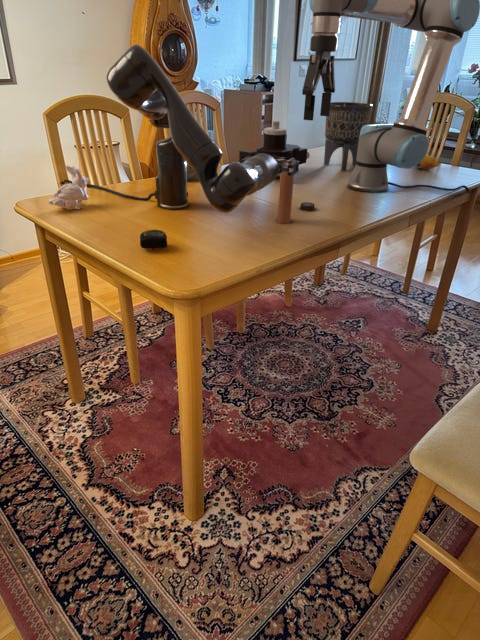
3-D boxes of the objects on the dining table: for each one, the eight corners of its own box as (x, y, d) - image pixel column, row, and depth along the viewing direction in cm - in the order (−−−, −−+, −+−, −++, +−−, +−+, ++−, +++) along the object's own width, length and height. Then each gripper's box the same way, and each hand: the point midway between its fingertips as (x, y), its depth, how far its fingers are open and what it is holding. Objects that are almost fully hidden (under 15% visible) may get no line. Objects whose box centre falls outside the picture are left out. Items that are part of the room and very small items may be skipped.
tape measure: (140, 252, 115) (139, 238, 113) (141, 242, 120) (140, 229, 119) (167, 251, 116) (166, 237, 114) (167, 241, 121) (166, 228, 120)
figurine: (98, 204, 150) (92, 164, 144) (60, 215, 140) (52, 173, 133) (82, 200, 154) (76, 161, 148) (43, 210, 143) (35, 169, 137)
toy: (413, 162, 205) (407, 155, 217) (415, 176, 208) (410, 168, 220) (439, 154, 201) (432, 147, 214) (441, 168, 204) (434, 161, 217)
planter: (313, 167, 208) (319, 103, 195) (331, 160, 222) (338, 101, 209) (353, 173, 199) (362, 107, 185) (369, 166, 213) (379, 104, 199)
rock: (201, 174, 190) (201, 158, 187) (214, 178, 185) (214, 162, 181) (174, 179, 183) (173, 162, 179) (187, 183, 177) (186, 166, 174)
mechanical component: (240, 120, 182) (283, 115, 202) (239, 174, 192) (280, 164, 212) (283, 126, 170) (325, 120, 190) (280, 183, 180) (320, 171, 200)
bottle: (290, 219, 141) (295, 163, 132) (289, 223, 137) (294, 166, 129) (278, 218, 141) (281, 162, 133) (276, 222, 138) (280, 165, 130)
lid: (307, 206, 154) (307, 201, 153) (317, 209, 151) (317, 204, 150) (297, 208, 151) (297, 203, 151) (307, 211, 148) (307, 206, 147)
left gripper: (287, 158, 104) (305, 148, 117) (230, 153, 109) (253, 143, 122) (284, 191, 108) (302, 177, 121) (229, 185, 112) (252, 172, 125)
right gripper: (327, 37, 138) (319, 113, 148) (294, 33, 119) (288, 120, 129) (351, 37, 134) (341, 115, 145) (321, 33, 116) (313, 123, 126)
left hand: (277, 160), depth 121 cm, fingers open, 8 cm apart
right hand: (316, 118), depth 137 cm, fingers open, 13 cm apart
